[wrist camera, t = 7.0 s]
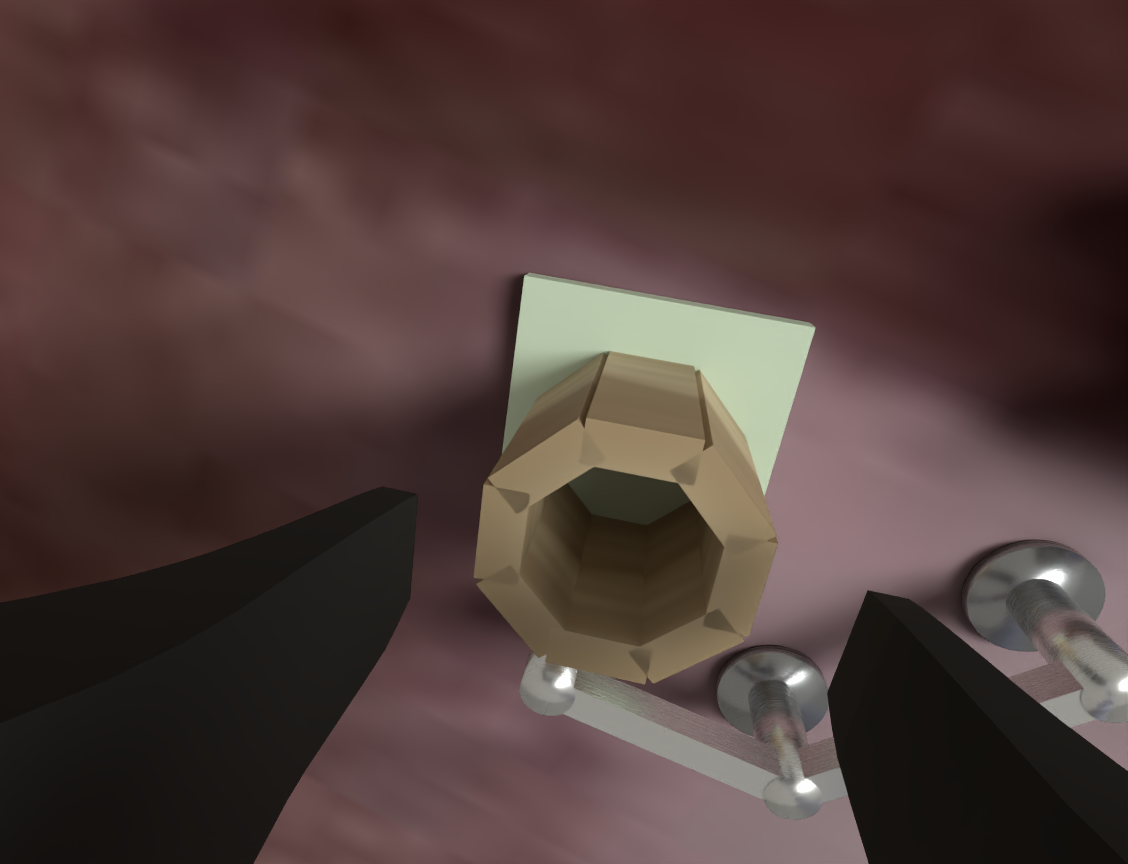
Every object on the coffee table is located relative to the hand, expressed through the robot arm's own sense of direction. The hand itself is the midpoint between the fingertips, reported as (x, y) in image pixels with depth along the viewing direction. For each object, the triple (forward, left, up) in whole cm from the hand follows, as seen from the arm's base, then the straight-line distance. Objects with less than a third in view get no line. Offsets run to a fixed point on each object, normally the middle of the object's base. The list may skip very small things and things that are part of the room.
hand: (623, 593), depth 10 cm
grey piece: (-5, -6, -8) cm, 11 cm away
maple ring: (-1, 0, -7) cm, 7 cm away
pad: (0, 0, -8) cm, 8 cm away
